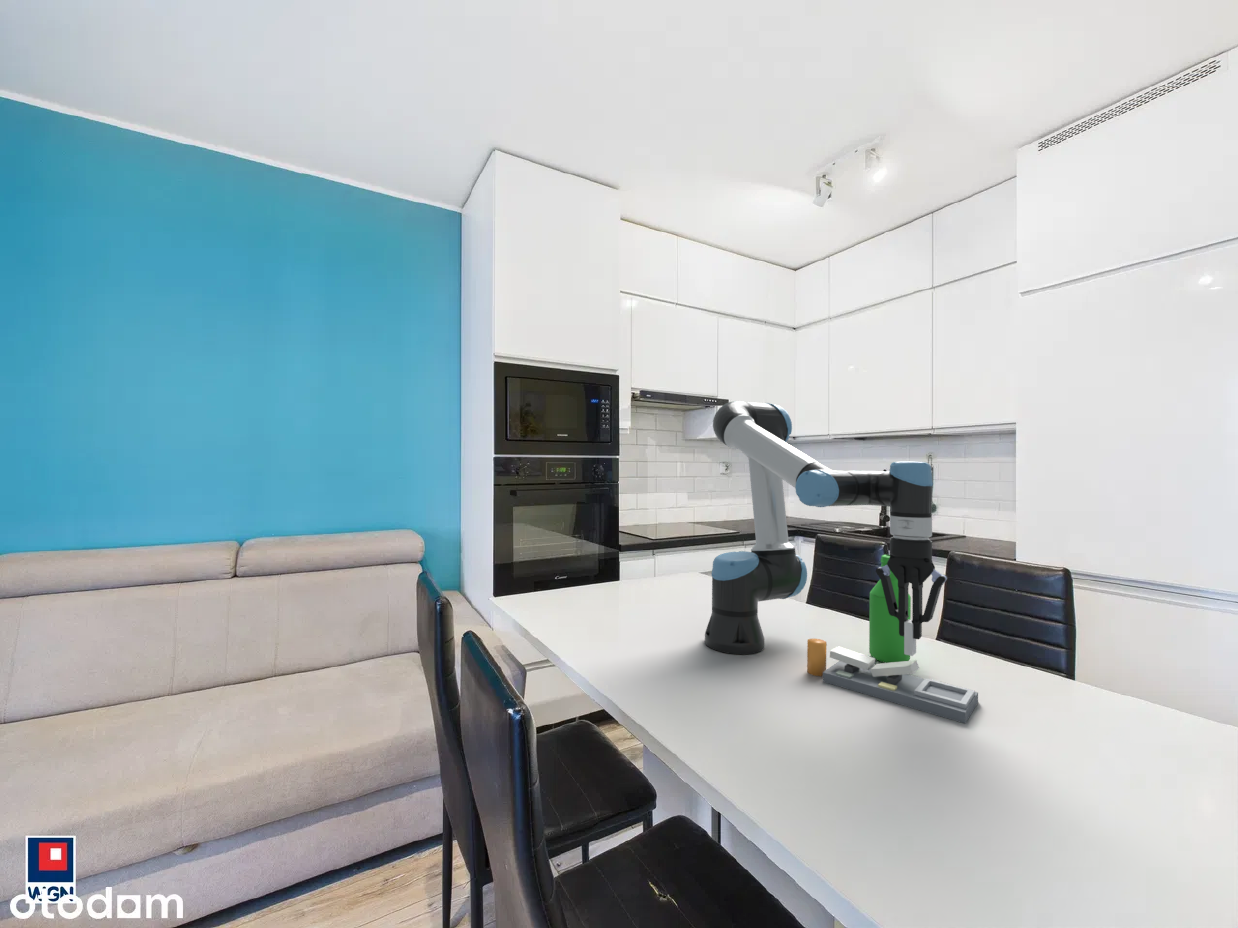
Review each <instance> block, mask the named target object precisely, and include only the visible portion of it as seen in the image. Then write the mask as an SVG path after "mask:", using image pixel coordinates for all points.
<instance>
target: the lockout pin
mask: <svg viewBox="0 0 1238 928" xmlns="http://www.w3.org/2000/svg"><path fill="white" fill-rule="evenodd" d="M806 644H807V646H806V647H807V651H806V654H807V655H806V656H807V657H806V660H807V662H806V663H807V665H806V667H807V668H806V671H807V674H809V675H811V676H814V677H823V672H824V671H825V670H827V641H826V640H824V639H820V638H809V639H807V643H806Z"/></svg>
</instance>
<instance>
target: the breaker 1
mask: <svg viewBox="0 0 1238 928" xmlns="http://www.w3.org/2000/svg"><path fill="white" fill-rule="evenodd" d="M829 658H831V659H832V660H833V659H834V660H836V661H838V662H839V661H842V662H844V663H847V664H850V665H853V666H856V667H858V668H861V669H864V670H867V671H868V670H869V669H870V668H872V667H873V666H875V665H876V659H875V658H874V657H873V656H871V655H870V656H869V655H867V654H863V653H860V652H857V651H854V650H852V649H848V648H845V647H843V646H839V645H838V646H837V645H836V646H835V647H834V648H832V649H831V650H830V651H829Z"/></svg>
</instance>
